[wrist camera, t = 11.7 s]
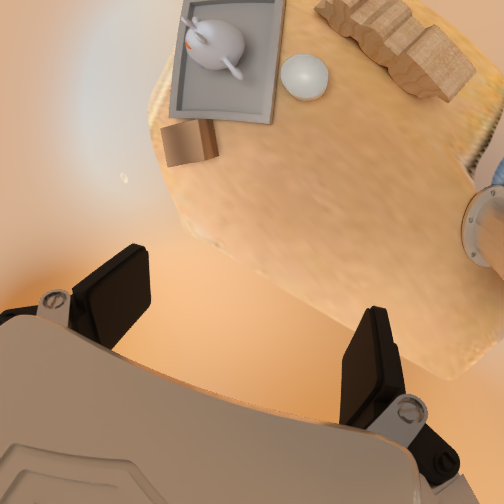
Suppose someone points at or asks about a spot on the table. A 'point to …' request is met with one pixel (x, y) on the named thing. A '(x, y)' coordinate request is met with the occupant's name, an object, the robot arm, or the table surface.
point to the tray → (222, 81)
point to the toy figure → (214, 44)
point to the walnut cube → (189, 142)
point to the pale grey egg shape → (304, 77)
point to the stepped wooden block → (401, 45)
